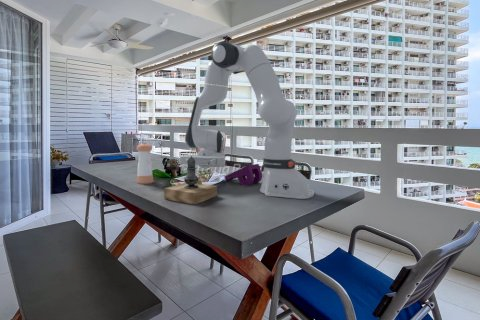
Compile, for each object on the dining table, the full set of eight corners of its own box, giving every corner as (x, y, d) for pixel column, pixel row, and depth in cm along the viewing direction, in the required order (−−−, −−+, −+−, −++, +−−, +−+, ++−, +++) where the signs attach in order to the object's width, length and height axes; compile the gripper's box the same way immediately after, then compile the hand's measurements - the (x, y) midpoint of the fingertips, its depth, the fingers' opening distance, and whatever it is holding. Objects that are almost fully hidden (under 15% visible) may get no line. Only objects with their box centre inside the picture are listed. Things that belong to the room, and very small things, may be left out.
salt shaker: (140, 184, 126) (139, 143, 124) (134, 182, 131) (133, 142, 129) (155, 182, 131) (154, 142, 129) (149, 180, 136) (148, 142, 134)
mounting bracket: (226, 194, 135) (253, 182, 125) (220, 178, 137) (247, 165, 126) (237, 190, 143) (264, 179, 132) (232, 175, 144) (258, 163, 134)
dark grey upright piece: (198, 189, 100) (198, 156, 99) (182, 188, 100) (182, 156, 99) (200, 185, 106) (200, 155, 105) (184, 185, 106) (184, 154, 105)
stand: (216, 196, 106) (217, 186, 106) (194, 204, 94) (194, 193, 94) (188, 191, 113) (188, 182, 113) (164, 198, 101) (164, 188, 101)
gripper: (184, 151, 128) (174, 154, 114) (227, 152, 126) (222, 155, 112) (184, 164, 129) (174, 169, 115) (227, 166, 127) (222, 170, 113)
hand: (198, 162), depth 114 cm, fingers open, 8 cm apart
